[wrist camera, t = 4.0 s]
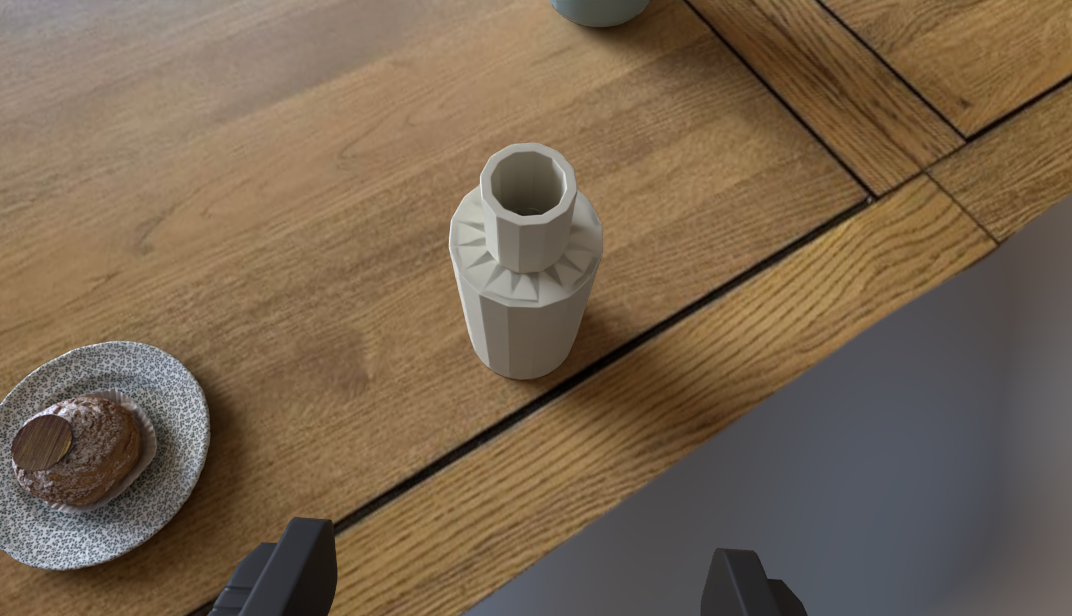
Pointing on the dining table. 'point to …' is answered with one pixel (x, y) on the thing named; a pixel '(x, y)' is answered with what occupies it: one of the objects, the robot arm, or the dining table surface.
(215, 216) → the dining table surface
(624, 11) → the cup
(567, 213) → the white faceted vase
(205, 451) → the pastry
